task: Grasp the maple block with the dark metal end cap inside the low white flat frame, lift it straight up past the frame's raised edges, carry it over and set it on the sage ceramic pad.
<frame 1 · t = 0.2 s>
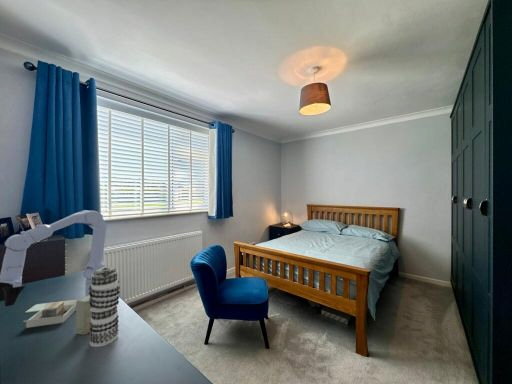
hand: (5, 303, 82), 10 cm above the table, tool pointing down, fingers open, 7 cm apart
white flat frame: (53, 317, 91), on the table
pad: (40, 307, 99), on the table
decorative candle: (104, 339, 78), on the table
block: (53, 311, 91), in the white flat frame
skincare box: (88, 330, 83), on the table
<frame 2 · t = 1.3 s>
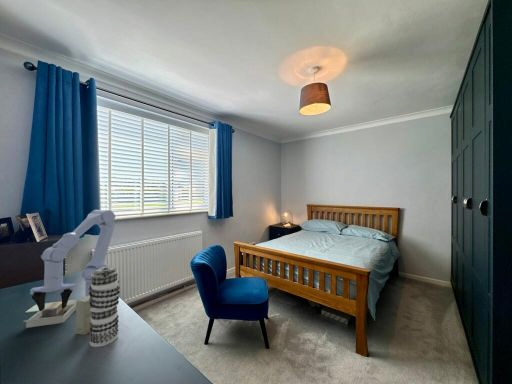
hand: (53, 308, 91), 4 cm above the table, tool pointing down, fingers open, 7 cm apart
nothing on the table moved.
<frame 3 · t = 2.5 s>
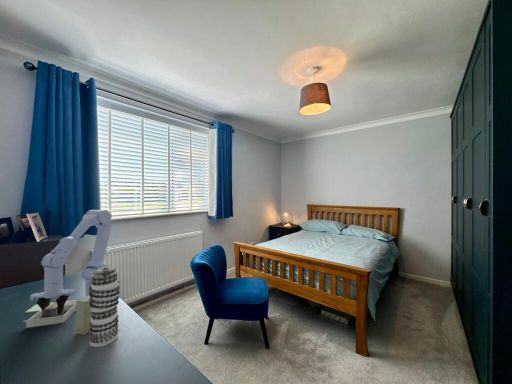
hand: (53, 314, 91), 1 cm above the table, tool pointing down, fingers closed on block, 4 cm apart
block: (53, 311, 91), in the white flat frame, touching gripper
everything else where it was.
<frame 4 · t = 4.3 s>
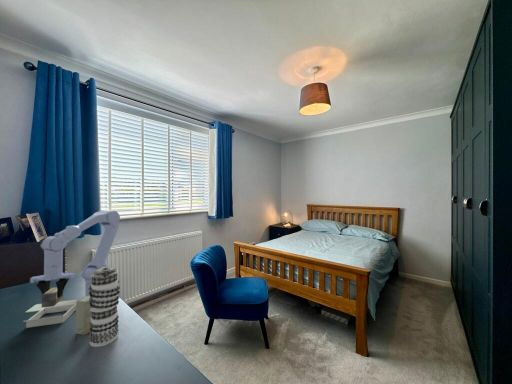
hand: (53, 297, 91), 8 cm above the table, tool pointing down, fingers closed on block, 4 cm apart
block: (52, 296, 91), point 9 cm above the table, touching gripper
everything else where it was.
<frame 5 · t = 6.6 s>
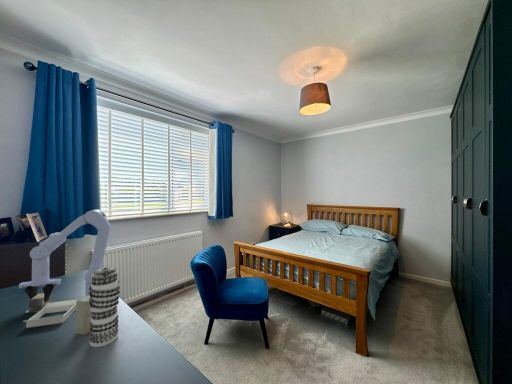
hand: (40, 301, 99), 3 cm above the table, tool pointing down, fingers closed on block, 4 cm apart
block: (39, 302, 98), on the pad, touching gripper
everything else where it was.
when the fingers open (3 cm above the table, at t = 7.3 s): block stays where it is, resting on pad.
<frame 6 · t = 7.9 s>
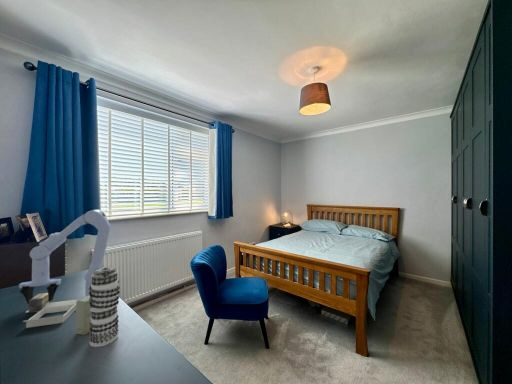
hand: (40, 301, 99), 3 cm above the table, tool pointing down, fingers open, 7 cm apart
block: (39, 301, 98), on the pad
everything else where it was.
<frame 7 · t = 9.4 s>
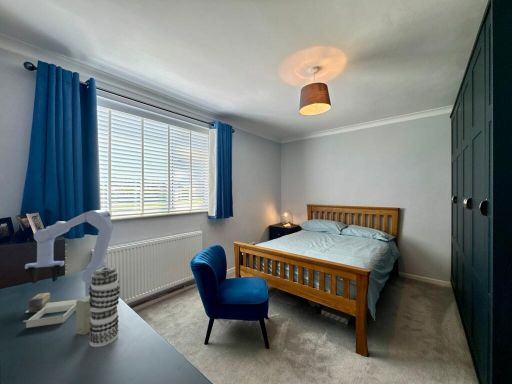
hand: (45, 281, 105), 9 cm above the table, tool pointing down, fingers open, 7 cm apart
nothing on the table moved.
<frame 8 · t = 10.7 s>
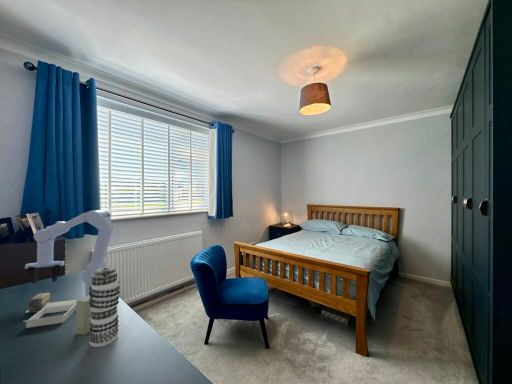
hand: (45, 281, 105), 9 cm above the table, tool pointing down, fingers open, 7 cm apart
nothing on the table moved.
at the end: block 0.5 cm off-centre on the pad, point 2.9 cm above the pad's base; block tilted 0°; the gripper is holding nothing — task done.
